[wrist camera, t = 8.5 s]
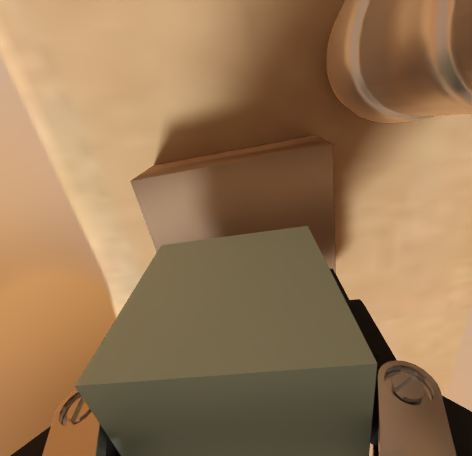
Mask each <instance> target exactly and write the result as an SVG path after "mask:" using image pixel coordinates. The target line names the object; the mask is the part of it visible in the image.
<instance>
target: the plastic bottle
mask: <svg viewBox="0 0 472 456" xmlns="http://www.w3.org/2000/svg"><path fill="white" fill-rule="evenodd" d="M326 66H327V74H328V79H329V83H330V85H331V87H332V90H333V92H334V94H335V95H336V97H337V98H338V99H339V100H340V102H341V103H342V104H343V105H345V106H346V107H347V108H348V109H350V110H351V111H352V112H353V113H355V114H356V115H358V116H360V117H362V118H364V119H366V120H369V121H374V122H379V123H399V122H408V121H414V120H419V119H424V118H429V117H433V116H439V115H457V114H472V0H345V1H344V3H343V5H342V7H341V10H340V12H339V14H338V16H337V18H336V20H335V23H334V25H333V28H332V31H331V34H330V37H329V41H328V47H327V54H326Z"/></svg>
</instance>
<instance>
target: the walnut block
mask: <svg viewBox="0 0 472 456" xmlns="http://www.w3.org/2000/svg"><path fill="white" fill-rule="evenodd" d="M131 184H132V186H133V189H134V192H135V194H136V197H137V200H138V203H139V205H140V208H141V211H142V213H143V216H144V219H145V221H146V224H147V227H148V229H149V232H150V235H151V238H152V240H153V243H154V246H155V248H156V251H157V252H158V250H159V249H160V247H161V245H166V244H173V243H181V242H189V241H196V240H204V239H211V238H219V237H226V236H234V235H242V234H249V233H257V232H264V231H272V230H279V229H287V228H295V227H302V226H308V227H309V229H310V231H311V233H312V235H313V237H314V239H315V241H316V243H317V245H318V247H319V249H320V251H321V253H322V255H323V257H324V259H325V261H326V263H327V265H328V267H329V269H331V268H332V269H333V270H334V272H335V274H336V263H335V223H334V184H333V144H331V143H329V142H327V141H325V140H323V139H321V138H319V137H317V136H315V135H312V136H307V137H302V138H296V139H291V140H286V141H280V142H275V143H270V144H264V145H259V146H254V147H248V148H243V149H238V150H232V151H227V152H222V153H216V154H211V155H206V156H200V157H195V158H190V159H184V160H179V161H174V162H168V163H163V164H158V165H154V166H152V167H151V168H149V169H148V170H146V171H145V172H143V173H142V174H140V175H139V176H137V177H136V178H134V179H133V180H131Z"/></svg>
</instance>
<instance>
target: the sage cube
mask: <svg viewBox="0 0 472 456" xmlns="http://www.w3.org/2000/svg"><path fill="white" fill-rule="evenodd" d="M376 372H377V362H376V360H375V358H374V356H373V354H372V352H371V350H370V348H369V346H368V344H367V342H366V340H365V338H364V336H363V334H362V332H361V330H360V328H359V326H358V324H357V322H356V320H355V318H354V316H353V314H352V313H351V311H350V309H349V307H348V305H347V303H346V301H345V299H344V297H343V295H342V293H341V291H340V289H339V287H338V285H337V283H336V281H335V279H334V277H333V275H332V273H331V271H330V269H329V267H328V265H327V263H326V261H325V259H324V257H323V255H322V253H321V251H320V249H319V247H318V245H317V243H316V241H315V239H314V237H313V235H312V233H311V231H310V229H309V227H308V226H302V227H295V228H287V229H279V230H272V231H264V232H257V233H249V234H242V235H234V236H226V237H219V238H211V239H204V240H196V241H189V242H181V243H173V244H166V245H161V247H160V249H159V250H158V252H157V253H156V255H155V257H154V258H153V260H152V262H151V263H150V265H149V266H148V268H147V270H146V271H145V273H144V275H143V276H142V278H141V279H140V281H139V283H138V284H137V286H136V288H135V289H134V291H133V292H132V294H131V296H130V297H129V299H128V300H127V302H126V304H125V305H124V307H123V309H122V310H121V312H120V313H119V315H118V317H117V318H116V320H115V322H114V323H113V325H112V326H111V328H110V330H109V331H108V333H107V335H106V336H105V338H104V340H103V341H102V343H101V344H100V346H99V348H98V349H97V351H96V353H95V354H94V356H93V357H92V359H91V361H90V362H89V364H88V365H87V367H86V369H85V370H84V372H83V374H82V375H81V377H80V378H79V380H78V382H77V383H76V385H75V387H76V389H77V390H78V392H79V393H80V395H81V396H82V398H83V399H84V401H85V402H86V404H87V405H88V407H89V408H90V410H91V411H92V413H93V414H94V416H95V417H96V419H97V420H98V422H99V423H100V425H101V426H102V428H103V429H104V431H105V432H106V434H107V435H108V437H109V438H110V440H111V441H112V443H113V444H114V446H115V447H116V449H117V450H118V452H119V453H120V455H121V456H369V448H370V438H371V427H372V416H373V405H374V394H375V383H376Z"/></svg>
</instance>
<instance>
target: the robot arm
mask: <svg viewBox="0 0 472 456" xmlns="http://www.w3.org/2000/svg"><path fill="white" fill-rule="evenodd" d="M330 271H331V273H332V275H333V277H334V279H335V281H336V283H337V285H338V287H339V289H340V291H341V293H342V295H343V297H344V299H345V301H346V303H347V305H348V307H349V309H350V311H351V313H352V314H353V316H354V318H355V320H356V322H357V324H358V326H359V328H360V330H361V332H362V334H363V336H364V338H365V340H366V342H367V344H368V346H369V348H370V350H371V352H372V354H373V356H374V358H375V360H376V362H377V372H376V383H375V394H374V405H373V416H372V427H371V438H370V443H371V444H372V456H472V412H471V411H469V410H467V409H466V408H464V407H462V406H460V405H458V404H456V403H455V402H453V401H451V400H449V399H447V398H445V397H444V396H442V394H441V391H440V389H439V387H438V384H437V383H436V382H435V380H434V379H433V378H432V377H431V376H430V375H429V374H428V373H427V372H426V371H424V370H423V369H421V368H420V367H418V366H416V365H414V364H411V363H408V362H405V361H397V360H396V358H395V357H394V355H393V353H392V351H391V350H390V348H389V346H388V345H387V343H386V341H385V340H384V338H383V336H382V334H381V333H380V331H379V329H378V328H377V326H376V324H375V323H374V321H373V319H372V317H371V316H370V314H369V312H368V311H367V309H366V307H365V306H364V304H363V302H362V301H361V300H360V299H358V300H349V298H348V297H347V295H346V293H345V291H344V289H343V287H342V285H341V283H340V281H339V279H338V278H337V276H336V274H335V272H334V270H333V269H332V268H331V269H330ZM11 456H121V455H120V453H119V452H118V450H117V449H116V447H115V446H114V444H113V443H112V441H111V440H110V438H109V437H108V435H107V434H106V432H105V431H104V429H103V428H102V426H101V425H100V423H99V422H98V420H97V419H96V417H95V416H94V414H93V413H92V411H91V410H90V408H89V407H88V405H87V404H86V402H85V401H84V399H83V398H82V396H81V395H80V393H79V392H78V390H77V389H76V390H75V391H74V392H72V393H71V394H69V395H68V396H67V397H66V398H65V399H64V401H62V403H61V404H60V406H59V407H58V409H57V411H56V413H55V415H54V418H53V421H52V425H51V426H50V427H49V428H48V429H46V430H45V431H44V432H42V433H41V434H40V435H38V436H37V437H35V438H34V439H33V440H31V441H30V442H29V443H27V444H26V445H25V446H24V447H22V448H21V449H19V450H18V451H16V452H15V453H14V454H12V455H11Z"/></svg>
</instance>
